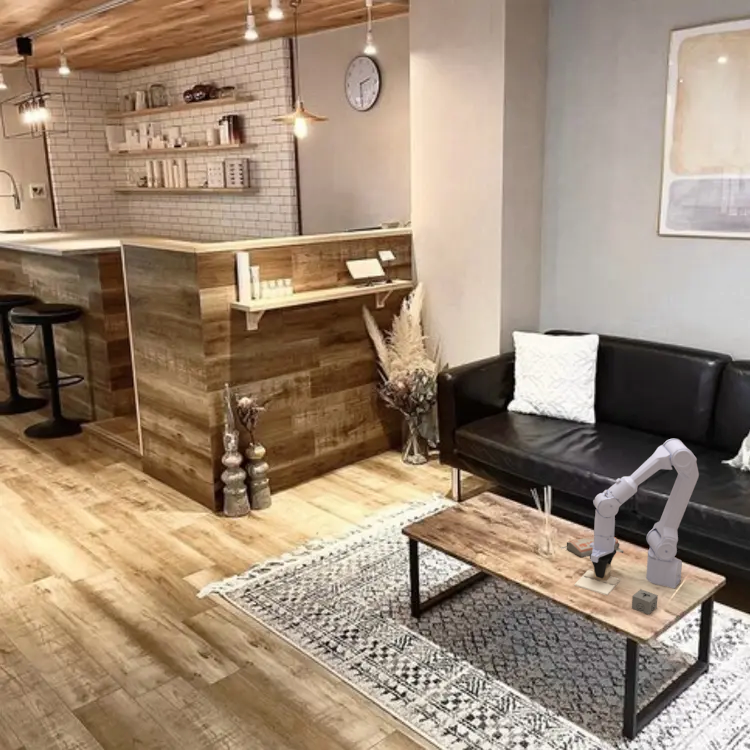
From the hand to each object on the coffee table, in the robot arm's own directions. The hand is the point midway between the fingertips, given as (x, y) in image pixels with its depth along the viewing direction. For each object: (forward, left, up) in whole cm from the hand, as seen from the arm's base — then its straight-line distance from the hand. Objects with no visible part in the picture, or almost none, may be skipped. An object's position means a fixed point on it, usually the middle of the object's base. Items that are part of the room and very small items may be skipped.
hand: (602, 574), depth 232 cm
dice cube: (-16, +9, -3) cm, 18 cm away
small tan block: (0, 0, -1) cm, 1 cm away
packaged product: (+10, -17, -3) cm, 20 cm away
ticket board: (0, +2, -2) cm, 3 cm away
